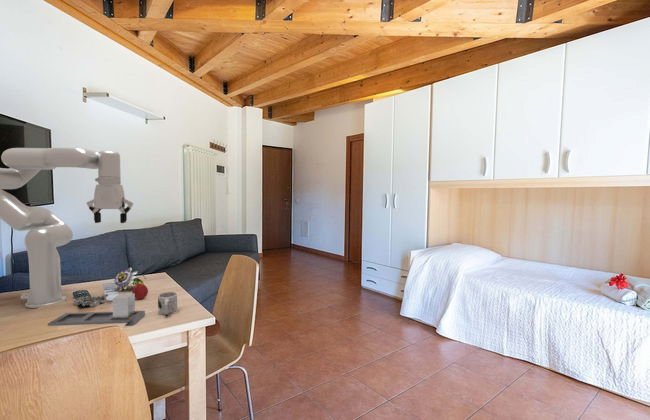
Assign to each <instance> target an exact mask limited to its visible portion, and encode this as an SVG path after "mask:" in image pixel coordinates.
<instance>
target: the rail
mask: <svg viewBox="0 0 650 420" xmlns="http://www.w3.org/2000/svg"><path fill="white" fill-rule="evenodd" d="M144 316H146V310H135V315H134V316H133V317H131V318H130V319H122V320H113V311H92V312H90V311H89V312H86V311H85V312H65V313H63V314H61V315H60V316H59V317H57V318H55V319H53V320H52V321H50V322H48V323H47V326H49V327H52V326H72V325H73V326H76V325H77V326H78V325H105V324H109V325H110V324H125V325H124V326H135V325H136V324H137V323H138V322H139V321H141V319H142V318H143V317H144Z"/></svg>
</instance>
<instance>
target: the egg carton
mask: <svg viewBox="0 0 650 420" xmlns="http://www.w3.org/2000/svg"><path fill="white" fill-rule="evenodd" d="M107 297H109V295H108V294H102V295H98V296H95V295H94V296H89V295H86V296H85V297H84V296H80V297H77V298H73V299H72V300H73V301H74V306H80V304H81V305H82V307H86V306H89V307H97V306H100V304H105V303H107ZM85 298H86V299H85ZM83 300H84V302H83ZM91 300H92V301H91ZM85 305H86V306H85Z"/></svg>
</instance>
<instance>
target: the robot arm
mask: <svg viewBox="0 0 650 420" xmlns="http://www.w3.org/2000/svg"><path fill="white" fill-rule="evenodd" d="M0 158H1V162H2V163H3V164H4V165H5V166H6V167H8V168H5V167H4V168H3V167H0V219H1V220H2V221H3V222H4V223H5V224H7V225H8V226H9V227H10V228H12V230H16V231H19V232H25V231H28V232H27V233H26V234H25V237H24V245H25V247H26V252H27V257H28V270H29V271H28V272H29V292H23V293H22V294H21V296H20V300H26V302H25V303H24V304H25V308H29V309H39V308H41V307H44V306H47V305H48V306H49V305H53V304H56V303H60V302H66V301H67V296H66V295H63V294H62V274H61V273H62V271H61V257H60V256H61V255H60V254H59V252H58V249H57V248H58V247H62V246H65V245H67V244H68V243H70V242H71V241H72V240H73V235H74V234H73V230H72V229H71V227H70V226H68V224H67V223H66V222H64V221H63V220H62V219H61V218H59V217H58V215H56V213H54V212H53V211H51V210H50V209H49V208H46V207H43V206H38V205H37V206H28V205H25V204H24V203H23V202H21V201H20V200H19V199H18V198H17V197H16V196H14V195H12V194H11V193H9V192H7V191H5V190H17V189H19V188H22V187H23V186H25V185H26V184H27V183H28V182H29V181H30V180H31V179H33V178H34V177H35V176H36V175H38V174H39V172H40V171H41V170H43V171H44V170H45V171H46V170H48V171H49V170H55V169H57V168H80V169H82V168H83V169H90V170H97V174H98V177H97V178H94V181H95V182H97V184H96V185H95V188H94V194H93V199H91V200H89V201H87V202H86V205H87V207H88V209H89V210H90V211H91V212H92V213H93V221H94V223H95V224H98V223H99V224H100V223H101V222H102V214H101V210H105V209H106V210H117V209H118V210H119V211H120V213H119V214H120V217H119V218H120V224H126V223H127V220H128V219H127V217H128V216H127V215H128V213H129V212H130V210H131V209H132V207H133V205H134V202H132V201H130V200H128V199H126V196H125V191H124V187H123V185H122V183H121V181H122V180H121V177H122V176H121V154H120V153H119V152H118V151H113V150H100V151H96V150H91V149H87V148H80V147H48V148H47V147H46V148H45V147H41V148H40V147H11V148H8V149H6V150H4V151H3V152H2V154H1V156H0ZM126 205H127V206H126Z"/></svg>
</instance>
